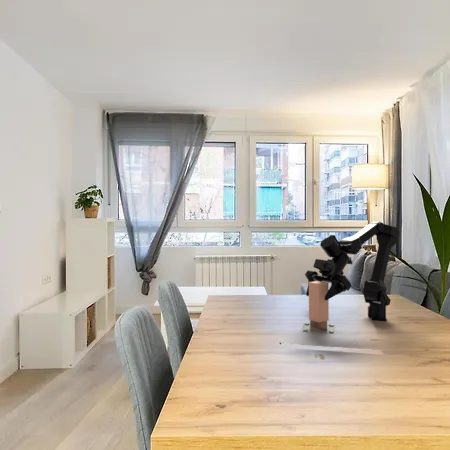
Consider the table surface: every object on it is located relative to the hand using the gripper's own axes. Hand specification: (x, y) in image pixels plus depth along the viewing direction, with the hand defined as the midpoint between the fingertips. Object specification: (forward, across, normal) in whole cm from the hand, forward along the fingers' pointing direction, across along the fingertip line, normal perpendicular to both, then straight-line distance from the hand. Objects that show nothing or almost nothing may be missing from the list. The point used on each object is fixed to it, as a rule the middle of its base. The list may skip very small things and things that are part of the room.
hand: (315, 297), depth 145 cm
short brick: (+7, 0, +9) cm, 12 cm away
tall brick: (+5, 0, +7) cm, 9 cm away
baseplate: (+8, 0, +10) cm, 13 cm away
